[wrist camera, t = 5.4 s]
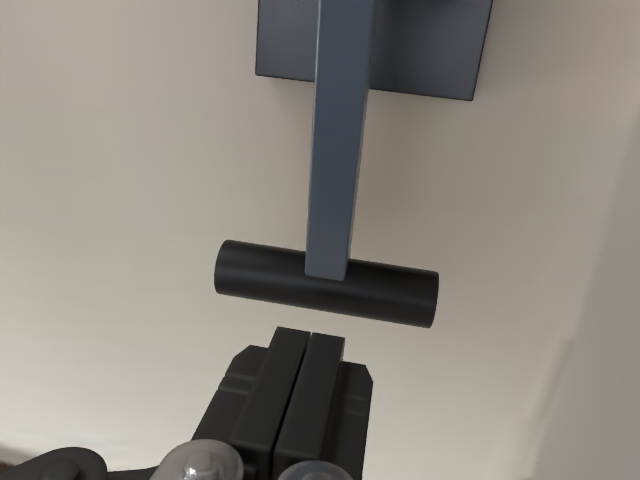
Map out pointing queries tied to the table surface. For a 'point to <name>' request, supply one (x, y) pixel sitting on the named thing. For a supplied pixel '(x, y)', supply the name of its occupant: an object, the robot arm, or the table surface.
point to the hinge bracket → (385, 44)
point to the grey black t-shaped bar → (333, 199)
